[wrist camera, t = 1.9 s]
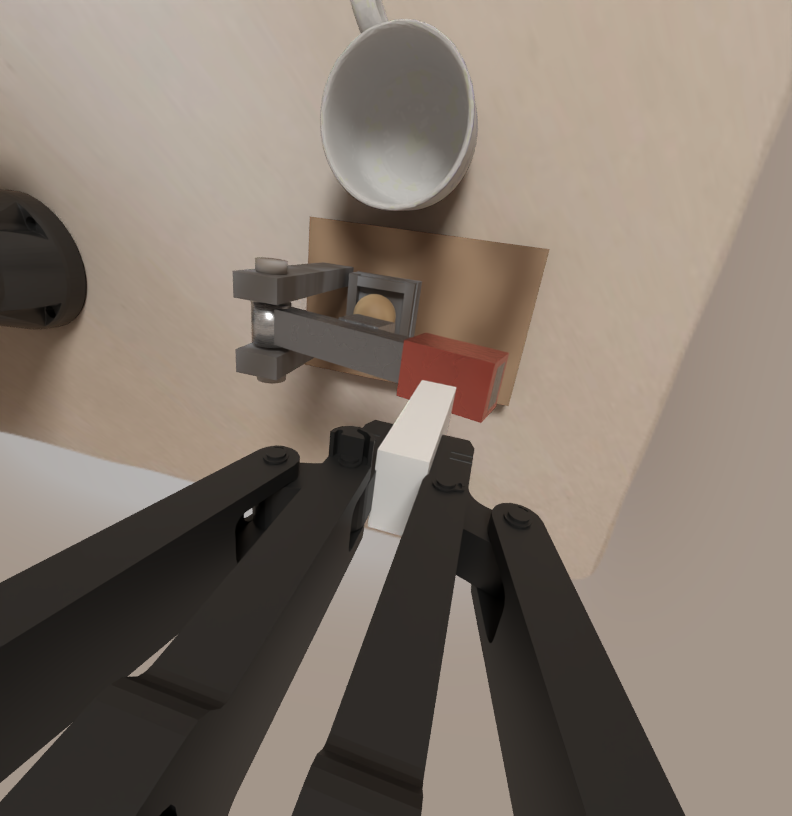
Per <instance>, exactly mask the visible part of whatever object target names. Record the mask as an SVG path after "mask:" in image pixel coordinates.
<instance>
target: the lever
mask: <svg viewBox="0 0 792 816" xmlns="http://www.w3.org/2000/svg"><path fill="white" fill-rule="evenodd" d="M251 322H252V343H253V344H255V345H257V346H261V347H268V348H281V347H282V348H286V349H289V350H292V351H295V352H299V353H302V354H305V355H308V356H311V357H315V358H318V359H321V360H324V361H328V362H331V363H334V364H337V365H340V366H344V367H347V368H350V369H353V370H357V371H360V372H363V373H366V374H369V375H373V376H376V377H379V378H382V379H386V380H389V381H392V382H395V383H398V388H397V396H400V397H403V398H406V399H409V400H410V398H411V396H412V395H413V393H414V392H415V390H416V389H417V387H418V385H419V384H420V382H421V381H422V380H424V381H429V382H434V383H439V384H444V385H448V386H453V387H456V392H455V397H454V402H453V407H452V412H451V413H452V414H455V415H458V416H461V417H464V418H468V419H471V420H474V421H477V422H480V423H481V422H482V421H483V420H484V419H485V418H486V417H487V416H488V415H489V414H490V413H491V412H492V410H493V409H494V408H495V407H496V404H497V400H498V396H499V392H500V388H501V384H502V380H503V376H504V372H505V368H506V364H507V360H508V356H509V353H508V352H504V351H500V350H496V349H491V348H487V347H483V346H479V345H475V344H471V343H467V342H463V341H459V340H455V339H451V338H447V337H442V336H438V335H434V334H430V333H423V334H420V335H417V336H414V337H408V336H404V335H400V334H396V333H394V332H395V324H396V323H394V322H390V321H385V320H381V319H377V318H373V317H369V316H365V315H361V314H354V315H349V316H343V317H339V319H337V318H333V317H329V316H325V315H321V314H317V313H313V312H309V311H306V310H302V309H298V308H294V307H291V302H287V303H283V304H279V305H273V304H268V303H262V302H257V301H251Z"/></svg>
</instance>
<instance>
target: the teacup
mask: <svg viewBox="0 0 792 816" xmlns="http://www.w3.org/2000/svg"><path fill="white" fill-rule="evenodd" d="M350 1H351V4H352V8H353V12H354V15H355V18H356V21H357V24H358V27H359V30H360V32H361V34H360V35H359V36H358V37H356V38H355V40H353V41H352V42H351V43H350V44H349V46H348V47H347V48H346V49H345V50H344V52H343V53H342V54H341V55H340V57H339V58H338V59H337V61H336V63H335V64H334V66H333V68H332V70H331V72H330V75H329V77H328V80H327V83H326V85H325V89H324V93H323V98H322V104H321V114H320V122H321V138H322V143H323V148H324V152H325V156H326V158H327V161H328V164H329V166H330V168H331V170H332V171H333V173H334V175H335V177H336V178H337V180H338V181H339V183H340V184H341V185H342V186H343V187H344V188H345V190H346V191H347V192H348V193H349V194H351V195H352V196H353V197H354V198H356V199H357V200H358V201H360V202H362V203H364V204H365V205H367V206H370V207H373V208H376V209H381V210H389V211H399V210H404V211H408V210H418V209H422V208H426V207H429V206H431V205H433V204H435V203H437V202H439V201H440V200H442V199H443V198H445V197H446V196H447V195H448V194H449V193H450V192H452V191H453V190H454V189H455V187H456V186H457V185H458V184H459V183H460V181H461V180H462V178H463V177H464V175H465V173H466V172H467V170H468V168H469V165H470V163H471V160H472V157H473V154H474V151H475V147H476V141H477V132H478V118H477V108H476V103H475V98H474V91H473V85H472V81H471V78H470V75H469V72H468V69H467V66H466V64H465V62H464V60H463V58H462V56H461V55H460V53H459V51H458V49H457V48H456V46H455V45H454V44H453V42H452V41H451V40H450V39H449V38H448V37H447V36H445V35H444V34H443V33H441V32H440V31H439V30H438V29H437V28H435V27H433V26H431V25H429V24H427V23H425V22H421V21H418V20H414V19H398V20H391V21H388V18H387V15H386V12H385V9H384V6H383V3H382V0H350Z"/></svg>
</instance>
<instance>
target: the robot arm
mask: <svg viewBox="0 0 792 816" xmlns="http://www.w3.org/2000/svg"><path fill="white" fill-rule="evenodd" d="M85 293H86V280H85V272H84V268H83V264H82V260H81V257H80V254H79V252H78V249H77V247H76V245H75V243H74V241H73V239H72V237H71V235H70V234H69V232H68V231H67V229H66V228H65V226H64V225H63V224H62V222H61V221H60V220H59V219H58V217H57V216H56V215H55V214H54V213H53V212H52V211H51V210H50V209H49V208H48V207H46V206H45V205H44V204H43V203H41V202H40V201H38V200H37V199H35V198H34V197H32V196H30V195H28V194H25V193H22V192H18V191H12V190H3V189H0V326H7V327H16V328H25V329H47V328H52V327H58V326H63V325H66V324H68V323H70V322H71V321H72V320H74V319H75V318H76V317H77V315H78V314H79V312H80V311H81V309H82V306H83V303H84V299H85ZM455 392H456V387H453V386H448V385H444V384H439V383H434V382H429V381H424V380H422V381H421V382H420V384H419V385H418V387H417V389H416V390H415V392H414V393H413V395H412V396H411V398H410V400H409V401H408V403H407V404H406V406H405V407H404V409H403V411H402V412H401V414H400V415H399V417H398V418H397V420H396V422H395V423H394V424H390V423H386V422H382V421H377V420H374V421H372V422H370V423H368V424H366V425H365V426H364V427H363V428H360V427H355V426H342V427H338V428H335V429H333V430H332V431H330V445H329V456H328V457H327V459H326V460H325V461H324V462H323V463H316V464H313V463H300V456H299V454H298V452H296V451H295V450H293V449H292V448H288V447H285V446H270V447H265V448H262V449H260V450H257V451H255V452H254V453H252V454H250V455H248V456H246V457H244V458H242V459H240V460H238V461H236V462H234V463H232V464H230V465H228V466H226V467H224V468H222V469H220V470H219V471H217V472H215V473H213V474H211V475H209V476H207V477H205V478H203V479H201V480H199V481H197V482H195V483H193V484H192V485H189V486H187V487H186V488H184V489H182V490H180V491H178V492H176V493H174V494H172V495H170V496H168V497H166V498H164V499H162V500H160V501H158V502H157V503H154V504H152V505H151V506H149V507H147V508H145V509H143V510H141V511H139V512H137V513H135V514H133V515H131V516H129V517H127V518H125V519H123V520H121V521H119V522H118V523H116V524H114V525H112V526H110V527H108V528H106V529H104V530H102V531H100V532H98V533H96V534H94V535H92V536H90V537H88V538H86V539H84V540H83V541H81V542H79V543H77V544H75V545H73V546H71V547H69V548H67V549H65V550H63V551H61V552H59V553H57V554H55V555H53V556H52V557H49V558H47V559H46V560H44V561H42V562H40V563H38V564H36V565H34V566H32V567H30V568H28V569H26V570H25V571H22V572H20V573H18V574H16V575H15V576H13V577H11V578H9V579H7V580H5V581H3V582H1V583H0V783H1V782H2V781H3V780H4V779H5V778H7V777H8V776H9V775H10V774H11V773H12V772H14V771H15V770H16V769H17V768H19V767H20V766H21V765H22V764H23V763H24V762H26V761H27V760H28V759H29V758H30V757H32V756H33V755H34V754H35V753H37V752H38V751H39V750H40V749H41V748H42V747H44V746H45V745H46V744H47V743H48V742H50V741H51V740H52V739H53V738H54V737H56V736H57V735H58V734H59V733H60V732H62V731H63V730H64V729H65V728H66V727H68V726H69V725H70V724H71V723H72V722H73V723H72V724H71V725H70V726H69V727H68V728H67V729H66V730H65V731H64V732H63V734H62V735H61V736H60V737H59V738H58V739H57V740H56V741H55V742H54V744H53V745H52V746H51V747H50V748H49V749H48V750H47V751H46V752H45V753H44V754H43V755H42V757H41V758H40V759H39V760H38V761H37V762H36V763H35V764H34V766H33V767H32V768H31V769H30V770H29V771H28V772H27V773H26V774H25V775H24V776H23V778H22V779H21V780H20V781H19V782H18V783H17V784H16V785H15V786H14V787H13V788H12V790H11V791H10V792H9V793H8V794H7V795H6V796H5V797H4V798H3V799H2V801H1V802H0V816H228V813H229V811H230V808H231V805H232V803H233V801H234V798H235V796H236V794H237V791H238V790H239V788H240V786H241V784H242V782H243V780H244V778H245V775H246V773H247V771H248V769H249V767H250V765H251V763H252V761H253V759H254V757H255V755H256V753H257V751H258V749H259V747H260V745H261V743H262V741H263V739H264V737H265V735H266V733H267V731H268V729H269V727H270V725H271V722H272V721H273V718H274V716H275V714H276V712H277V710H278V708H279V706H280V704H281V702H282V700H283V698H284V696H285V694H286V692H287V690H288V688H289V686H290V684H291V682H292V680H293V678H294V676H295V674H296V672H297V669H298V667H299V665H300V664H301V662H302V659H303V657H304V655H305V653H306V651H307V649H308V647H309V645H310V643H311V641H312V639H313V637H314V635H315V633H316V631H317V629H318V627H319V625H320V623H321V621H322V619H323V617H324V615H325V613H326V611H327V608H328V606H329V604H330V602H331V600H332V598H333V596H334V594H335V592H336V590H337V588H338V586H339V584H340V582H341V580H342V578H343V576H344V574H345V572H346V570H347V568H348V566H349V564H350V562H351V560H352V558H353V556H354V554H355V551H356V550H357V548H358V545H359V543H360V541H361V539H362V536H363V531H364V523H365V521H366V519H367V518H368V516H369V521H368V527H371V528H375V529H378V530H382V531H385V532H389V533H392V534H396V535H400V536H402V537H401V540H400V543H399V545H398V548H397V551H396V554H395V557H394V559H393V562H392V565H391V567H390V570H389V573H388V575H387V578H386V581H385V584H384V586H383V589H382V592H381V595H380V597H379V600H378V603H377V605H376V608H375V611H374V614H373V616H372V619H371V622H370V625H369V627H368V630H367V633H366V636H365V638H364V641H363V644H362V647H361V649H360V652H359V655H358V657H357V660H356V663H355V666H354V668H353V671H352V674H351V676H350V679H349V682H348V685H347V687H346V690H345V693H344V696H343V698H342V701H341V704H340V707H339V709H338V712H337V715H336V718H335V720H334V723H333V726H332V728H331V731H330V734H329V736H328V739H327V741H326V744H325V746H324V747H323V749H322V750H321V751H320V752H319V753H318V754H317V755H316V757H315V759H314V762H313V763H312V765H311V767H310V770H309V772H308V775H307V777H306V780H305V782H304V785H303V787H302V790H301V792H300V795H299V798H298V800H297V803H296V806H295V808H294V811H293V813H292V816H421V811H422V801H423V790H422V787H423V778H424V771H425V765H426V759H427V753H428V746H429V739H430V734H431V727H432V721H433V714H434V708H435V702H436V696H437V690H438V683H439V676H440V670H441V664H442V657H443V652H444V645H445V639H446V632H447V626H448V620H449V614H450V607H451V601H452V595H453V588H454V582H455V576H456V575H457V576H459V577H461V578H463V579H464V580H466V581H468V582H469V583H471V593H472V599H473V604H474V609H475V615H476V619H477V625H478V630H479V636H480V641H481V646H482V651H483V657H484V661H485V667H486V672H487V678H488V682H489V688H490V693H491V699H492V704H493V709H494V714H495V720H496V724H497V730H498V735H499V741H500V746H501V751H502V756H503V761H504V767H505V772H506V777H507V783H508V788H509V793H510V798H511V804H512V808H513V814H514V816H685V814H684V812H683V810H682V808H681V806H680V804H679V802H678V800H677V798H676V795H675V794H674V792H673V789H672V787H671V785H670V783H669V781H668V779H667V777H666V775H665V773H664V771H663V769H662V767H661V765H660V762H659V761H658V758H657V757H656V754H655V752H654V750H653V748H652V746H651V744H650V742H649V740H648V738H647V736H646V734H645V732H644V729H643V727H642V726H641V723H640V721H639V719H638V717H637V715H636V713H635V711H634V709H633V707H632V705H631V703H630V701H629V699H628V696H627V695H626V692H625V690H624V688H623V686H622V684H621V682H620V680H619V678H618V676H617V674H616V672H615V670H614V668H613V666H612V664H611V661H610V659H609V657H608V655H607V653H606V651H605V649H604V647H603V645H602V643H601V641H600V639H599V637H598V635H597V633H596V631H595V628H594V626H593V624H592V622H591V620H590V618H589V616H588V614H587V612H586V610H585V608H584V606H583V604H582V602H581V600H580V597H579V596H578V593H577V591H576V589H575V587H574V585H573V583H572V581H571V579H570V577H569V575H568V573H567V571H566V569H565V567H564V564H563V562H562V560H561V558H560V556H559V554H558V552H557V550H556V548H555V546H554V544H553V542H552V540H551V538H550V536H549V534H548V531H547V529H546V527H545V525H544V523H543V521H542V520H541V519H540V518H539V516H538V515H537V514H535V513H534V512H533V511H531V510H530V509H528V508H526V507H524V506H521V505H517V504H513V503H502V504H499V505H496V506H495V507H494V508H493V510H491V509H489V508H487V507H485V506H483V505H482V504H480V503H479V502H477V501H476V500H475V499H474V498H473V497H472V496H471V494H470V492H469V489H468V485H469V479H470V473H471V467H472V460H473V454H474V447H473V446H472V444H471V442H470V441H468V440H464V439H460V438H455V437H451V436H447V431H448V426H449V422H450V417H451V412H452V407H453V402H454V397H455ZM251 508H253V514H251V515H250V516H248V517H246V518H244V513H245V512H246V511H248V510H249V509H251ZM177 634H178V635H177ZM176 635H177V636H176ZM175 636H176V637H175ZM174 637H175V639H174V640H173V641H172V642H171V643H170V645H169V646H168V647H167V648H166V649H165V651H164V652H163V653H162V654H161V655H160V656H159V658H158V659H157V660H156V661H155V662H154V663H153V665H152V666H151V667H150V668H149V669H148V670H147V671H146V672H144V673H143V674H141V675H139V676H137V677H127V676H128V675H130V674H131V673H132V672H133V671H134V670H136V669H137V668H138V667H139V666H140V665H142V664H143V663H144V662H145V661H146V660H148V659H149V658H150V657H151V656H152V655H153V654H155V653H156V652H157V651H158V650H159V649H161V648H162V647H163V646H164V645H165V644H167V643H168V642H169V641H170V640H171V639H173V638H174Z"/></svg>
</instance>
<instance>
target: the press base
mask: <svg viewBox="0 0 792 816" xmlns="http://www.w3.org/2000/svg"><path fill="white" fill-rule="evenodd" d="M548 253H549V249H542V248H535V247H528V246H520V245H513V244H506V243H498V242H491V241H484V240H477V239H469V238H462V237H455V236H447V235H440V234H433V233H425V232H418V231H411V230H404V229H396V228H389V227H382V226H374V225H367V224H360V223H352V222H345V221H338V220H331V219H323V218H316V217H310V227H309V256H308V264H301V265H290V266H287V263H288V261H285V260H281V259H274V258H255V269H248V270H238V271H233V293H234V298H240V299H246V300H251V301H257V302H262V303H268V304H273V305H279V304H283V303H287V302H291V301H294V300H298V299H302V298H306V297H307V311H309V312H313V313H317V314H321V315H325V316H329V317H333V318H337V319H339V317H343V316H349V315H353V313H354V308H355V306H356V304H357V303H358V301H359V300H360V299H361V298H363V297H365V296H367V295H370V294H379V295H382V296H384V297H386V298H387V299H388V300H389V301H390V302H391V303H392V305H393V306H394V309H395V313H396V319H395V323H396V324H395V332H394V333H396V334H400V335H404V336H408V337H414V336H417V335H420V334H423V333H430V334H434V335H438V336H442V337H447V338H451V339H455V340H459V341H463V342H467V343H471V344H475V345H479V346H483V347H487V348H491V349H496V350H500V351H504V352H508V353H509V356H508V360H507V364H506V368H505V372H504V376H503V380H502V384H501V388H500V392H499V396H498V400H497V404H501V405H506V406H509V402H510V398H511V394H512V390H513V386H514V383H515V379H516V375H517V371H518V367H519V364H520V360H521V356H522V352H523V348H524V344H525V341H526V337H527V333H528V329H529V325H530V322H531V318H532V314H533V310H534V306H535V302H536V299H537V295H538V291H539V287H540V283H541V279H542V276H543V272H544V268H545V264H546V260H547V257H548ZM303 364H305V365H310V366H315V367H320V368H325V369H330V370H335V371H340V372H345V373H349V374H354V375H359V376H364V377H369V378H374V379H379V380H384V381H389V380H386V379H382V378H379V377H376V376H373V375H369V374H366V373H363V372H360V371H357V370H353V369H350V368H347V367H344V366H340V365H337V364H334V363H331V362H328V361H324V360H321V359H318V358H315V357H311V356H308V355H305V354H302V353H299V352H295V351H292V350H289V349H286V348H282V347H281V348H268V347H261V346H257V345H255V344H253V343H250V344H248V345H245V346H243V347H240V348H237V349H236V372H239V373H244V374H249V375H253V376H257V379H258V380H259V381H261V382H264V383H280V382H283V381H285V380H286V374H288V373H290V372H291V371H293V370H295V369H296V368H298V367H300V366H301V365H303ZM389 382H392V381H389ZM393 383H395V382H393Z"/></svg>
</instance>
